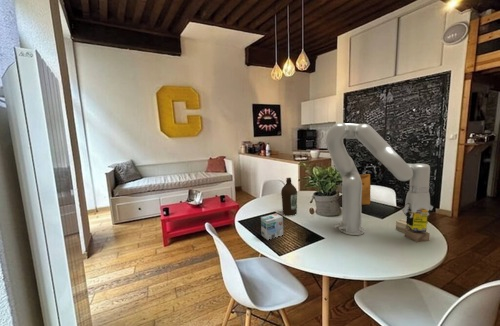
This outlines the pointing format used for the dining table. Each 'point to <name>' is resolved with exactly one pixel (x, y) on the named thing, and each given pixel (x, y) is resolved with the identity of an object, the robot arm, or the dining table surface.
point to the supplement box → (419, 221)
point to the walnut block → (417, 235)
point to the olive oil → (289, 198)
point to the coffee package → (365, 189)
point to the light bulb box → (272, 226)
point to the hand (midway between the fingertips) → (416, 223)
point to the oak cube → (401, 225)
